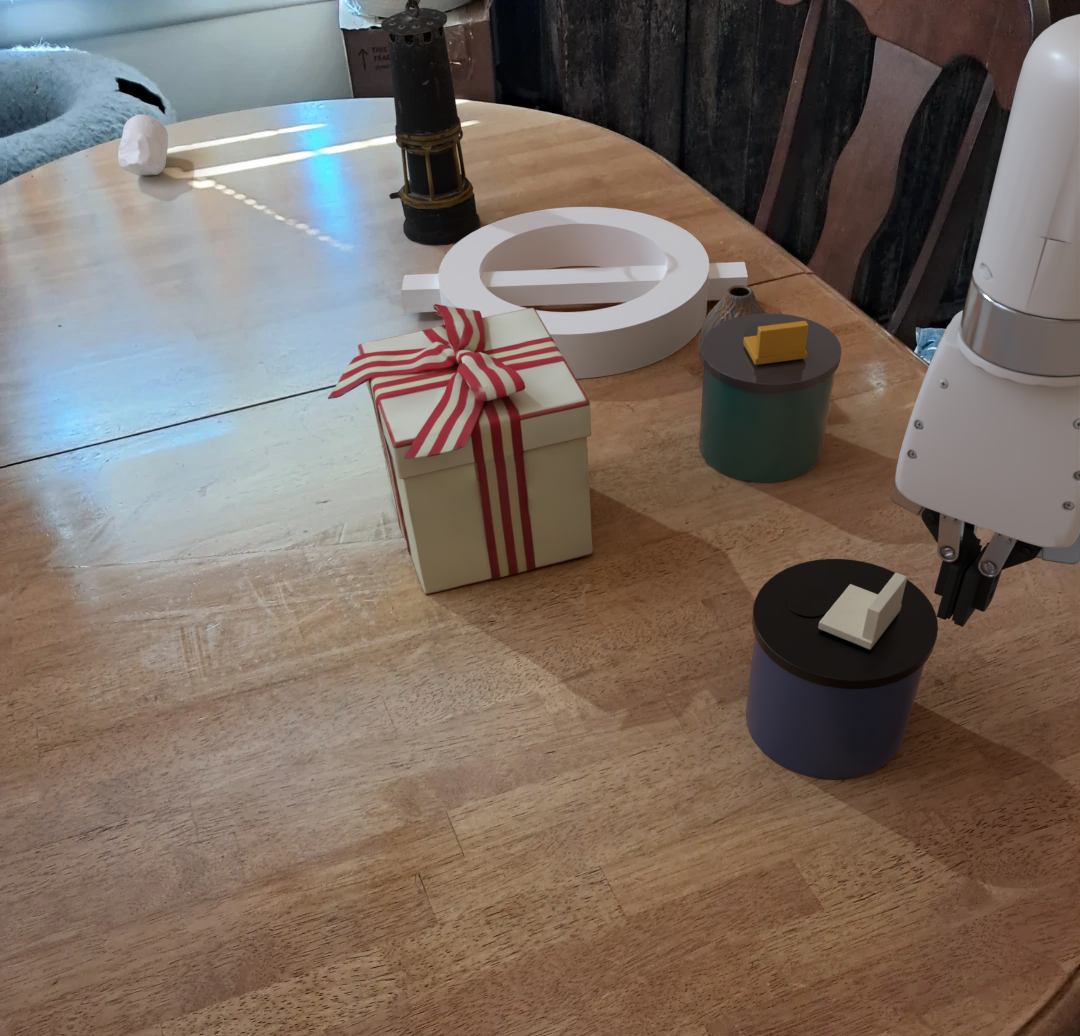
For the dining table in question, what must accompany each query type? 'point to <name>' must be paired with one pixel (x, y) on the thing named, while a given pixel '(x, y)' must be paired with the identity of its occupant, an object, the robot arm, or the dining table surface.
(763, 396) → the green lidded canister
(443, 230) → the lantern
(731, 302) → the vase
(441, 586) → the gift box
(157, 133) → the white rock
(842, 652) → the blue lidded jar
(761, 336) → the slider
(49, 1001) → the dining table surface
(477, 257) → the ring with crossbar
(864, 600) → the slider
